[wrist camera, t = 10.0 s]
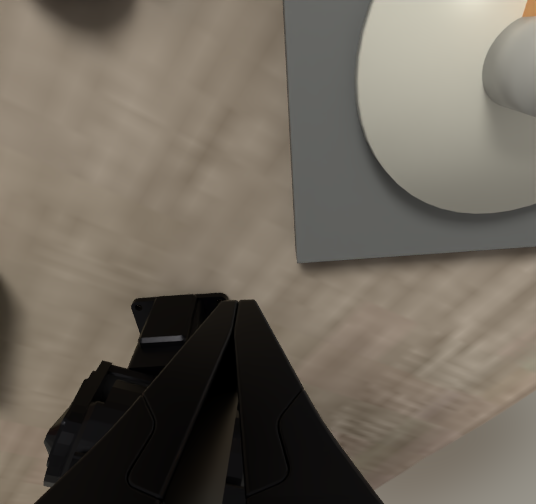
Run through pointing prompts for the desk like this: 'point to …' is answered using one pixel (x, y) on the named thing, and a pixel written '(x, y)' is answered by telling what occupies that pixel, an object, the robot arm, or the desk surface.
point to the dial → (452, 99)
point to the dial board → (360, 159)
